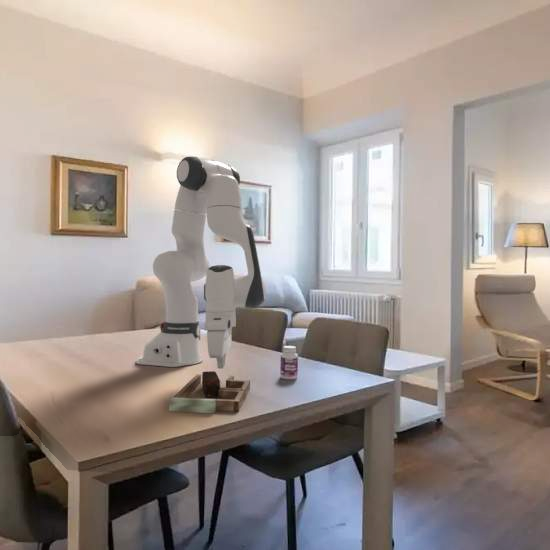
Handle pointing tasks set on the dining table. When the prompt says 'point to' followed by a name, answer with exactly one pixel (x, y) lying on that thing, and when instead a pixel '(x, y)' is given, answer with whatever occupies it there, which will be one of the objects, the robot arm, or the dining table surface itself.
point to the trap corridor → (226, 401)
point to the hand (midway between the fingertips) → (221, 367)
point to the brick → (210, 383)
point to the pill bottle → (289, 363)
